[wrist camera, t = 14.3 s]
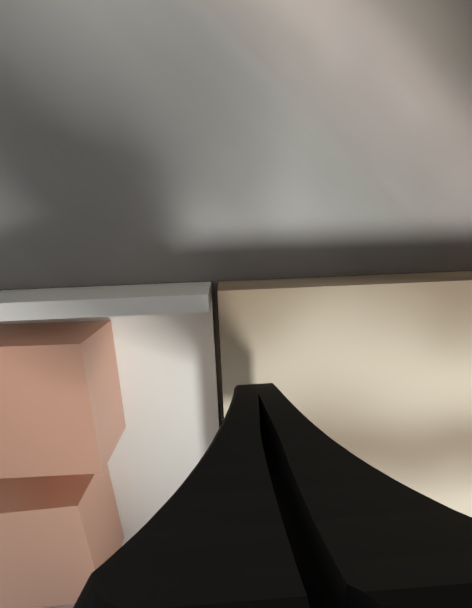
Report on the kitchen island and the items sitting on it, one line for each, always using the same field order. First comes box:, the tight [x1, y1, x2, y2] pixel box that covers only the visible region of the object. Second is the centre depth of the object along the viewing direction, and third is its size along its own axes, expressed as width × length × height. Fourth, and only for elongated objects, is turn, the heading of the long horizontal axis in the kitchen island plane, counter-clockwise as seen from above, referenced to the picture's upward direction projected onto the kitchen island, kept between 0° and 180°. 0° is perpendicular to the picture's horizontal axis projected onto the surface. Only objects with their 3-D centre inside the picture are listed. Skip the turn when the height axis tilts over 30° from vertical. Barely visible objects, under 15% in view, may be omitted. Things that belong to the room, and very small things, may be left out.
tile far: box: [0, 465, 124, 608], centre depth 12 cm, size 5×5×2 cm
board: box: [217, 271, 472, 517], centre depth 13 cm, size 15×15×2 cm
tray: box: [0, 282, 220, 608], centre depth 12 cm, size 15×11×2 cm
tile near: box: [0, 320, 126, 479], centre depth 11 cm, size 5×5×2 cm
